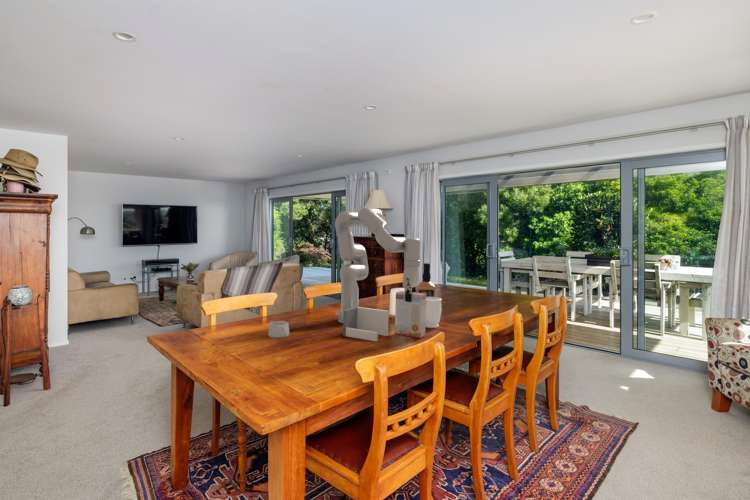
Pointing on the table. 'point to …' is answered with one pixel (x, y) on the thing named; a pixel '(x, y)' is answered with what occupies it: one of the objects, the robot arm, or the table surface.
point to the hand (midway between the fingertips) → (410, 300)
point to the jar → (433, 311)
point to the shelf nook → (365, 323)
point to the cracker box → (410, 315)
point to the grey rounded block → (278, 329)
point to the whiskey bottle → (426, 282)
